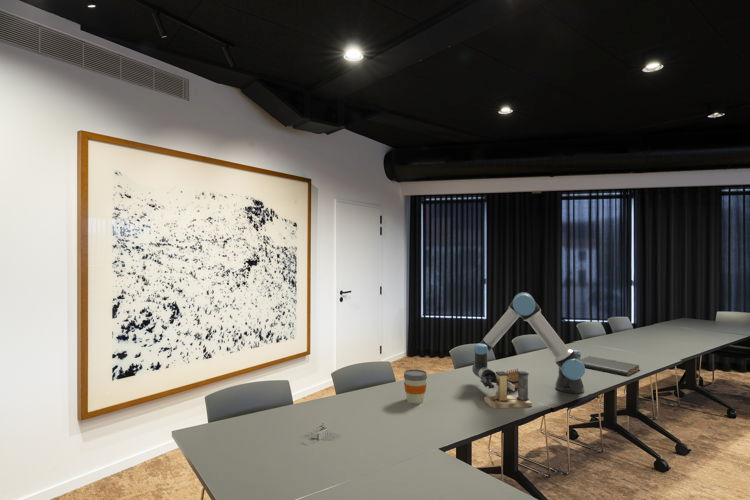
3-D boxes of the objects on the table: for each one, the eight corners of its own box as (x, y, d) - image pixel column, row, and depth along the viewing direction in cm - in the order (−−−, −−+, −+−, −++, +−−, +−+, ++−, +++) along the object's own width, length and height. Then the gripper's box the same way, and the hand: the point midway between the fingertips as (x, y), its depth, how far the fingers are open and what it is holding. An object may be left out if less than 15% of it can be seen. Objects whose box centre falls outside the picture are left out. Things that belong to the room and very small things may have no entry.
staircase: (320, 435, 183) (320, 422, 183) (327, 437, 181) (327, 424, 181) (309, 440, 178) (309, 427, 178) (316, 442, 176) (316, 429, 176)
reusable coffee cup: (426, 405, 218) (426, 376, 218) (402, 403, 221) (402, 375, 221) (427, 397, 230) (427, 370, 231) (405, 395, 233) (405, 368, 233)
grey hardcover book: (639, 364, 287) (626, 371, 271) (639, 370, 287) (626, 377, 271) (589, 355, 312) (575, 361, 296) (589, 361, 312) (575, 367, 296)
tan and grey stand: (522, 398, 229) (522, 368, 229) (534, 406, 217) (534, 375, 217) (484, 400, 226) (484, 370, 226) (493, 408, 214) (493, 376, 214)
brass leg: (503, 397, 224) (503, 371, 224) (507, 400, 219) (507, 373, 219) (495, 398, 223) (495, 371, 223) (499, 401, 218) (499, 374, 218)
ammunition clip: (507, 392, 239) (507, 371, 239) (504, 391, 241) (504, 370, 241) (519, 389, 245) (519, 368, 245) (517, 388, 247) (517, 367, 247)
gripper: (505, 381, 240) (524, 394, 218) (469, 383, 237) (486, 396, 215) (505, 368, 240) (524, 380, 218) (469, 369, 237) (486, 382, 215)
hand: (505, 388), depth 216 cm, fingers open, 8 cm apart
